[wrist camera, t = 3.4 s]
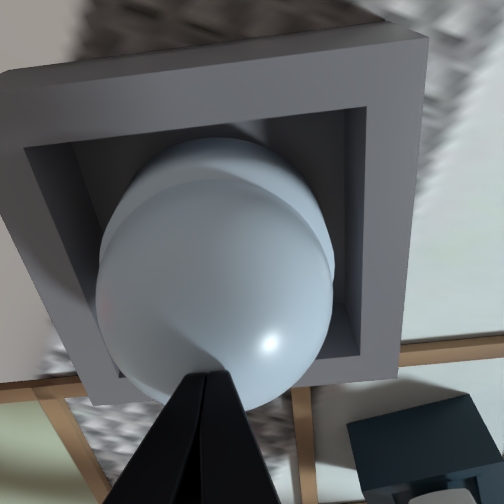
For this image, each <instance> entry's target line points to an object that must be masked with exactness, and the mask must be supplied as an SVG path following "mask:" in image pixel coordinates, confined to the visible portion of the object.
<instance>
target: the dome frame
mask: <svg viewBox="0 0 504 504" xmlns="http://www.w3.org/2000/svg"><path fill="white" fill-rule="evenodd" d="M428 47H429V37H427V36H424V35H422V34H420V33H417V32H415V31H412V30H410V29H407V28H405V27H402V26H400V25H397V24H395V23H392V22H390V21H382V22H374V23H367V24H359V25H351V26H344V27H336V28H328V29H320V30H313V31H305V32H297V33H290V34H282V35H274V36H267V37H259V38H251V39H244V40H236V41H228V42H220V43H213V44H205V45H197V46H190V47H182V48H174V49H167V50H159V51H151V52H144V53H136V54H128V55H120V56H113V57H105V58H97V59H90V60H82V61H74V62H67V63H59V64H51V65H43V66H36V67H28V68H20V69H13V70H7V71H5V72H3V73H1V74H0V215H1V217H2V219H3V221H4V223H5V225H6V227H7V229H8V231H9V233H10V235H11V237H12V239H13V242H14V243H15V246H16V248H17V250H18V252H19V254H20V256H21V258H22V260H23V262H24V264H25V266H26V268H27V270H28V272H29V274H30V277H31V278H32V281H33V283H34V285H35V287H36V289H37V291H38V293H39V295H40V297H41V299H42V301H43V303H44V305H45V308H46V310H47V312H48V314H49V316H50V318H51V320H52V322H53V324H54V326H55V328H56V330H57V332H58V334H59V336H60V338H61V340H62V343H63V345H64V347H65V349H66V351H67V353H68V355H69V357H70V359H71V361H72V363H73V365H74V367H75V369H76V371H77V373H78V376H79V378H80V380H81V382H82V384H83V386H84V388H85V390H86V392H87V394H88V396H89V398H90V400H91V402H92V404H93V406H98V405H109V404H120V403H131V402H142V401H153V400H154V399H152V398H150V397H149V396H147V395H146V394H144V393H143V392H142V391H140V390H139V389H138V388H137V387H136V386H135V385H134V384H133V383H132V382H131V381H130V380H129V379H128V378H127V377H126V376H125V375H124V374H123V373H122V372H121V371H120V369H119V368H118V366H117V365H116V363H115V362H114V360H113V359H112V357H111V355H110V353H109V351H108V349H107V347H106V345H105V343H104V340H103V337H102V334H101V331H100V327H99V324H98V318H97V311H96V284H97V277H98V272H99V267H100V266H99V258H100V247H101V242H102V238H103V235H104V233H105V230H106V227H107V225H108V223H109V221H110V219H111V217H112V215H113V213H114V211H115V210H116V208H117V206H118V204H119V202H120V200H121V198H122V196H123V194H124V192H125V190H126V188H127V187H128V185H129V183H130V181H131V180H132V178H133V177H134V176H135V175H136V173H137V172H138V171H139V170H140V168H142V167H143V166H144V165H145V164H146V163H147V162H148V161H149V160H150V159H152V158H153V157H155V156H156V155H158V154H159V153H161V152H162V151H164V150H167V149H169V148H171V147H173V146H175V145H178V144H181V143H184V142H187V141H191V140H196V139H202V138H215V137H221V138H234V139H239V140H244V141H249V142H252V143H255V144H258V145H261V146H263V147H265V148H267V149H269V150H271V151H273V152H275V153H277V154H279V155H280V156H282V157H283V158H284V159H286V160H287V161H289V162H290V163H291V164H292V165H293V166H294V167H295V168H297V169H298V170H299V172H300V173H301V174H302V175H303V176H304V177H305V179H306V180H307V181H308V183H309V185H310V186H311V188H312V189H313V191H314V193H315V196H316V198H317V200H318V202H319V206H320V209H321V212H322V215H323V218H324V221H325V225H326V228H327V231H328V234H329V237H330V241H331V244H332V248H333V252H334V262H335V268H334V279H333V283H332V286H333V303H332V315H331V319H330V323H329V327H328V331H327V335H326V337H325V340H324V342H323V345H322V347H321V349H320V351H319V353H318V355H317V356H316V358H315V360H314V361H313V363H312V364H311V366H310V367H309V368H308V369H307V371H306V372H305V373H304V374H303V375H302V377H301V378H300V379H299V380H298V381H297V382H296V383H295V384H294V385H293V386H291V387H290V388H296V387H307V386H318V385H329V384H340V383H351V382H362V381H373V380H384V379H395V378H397V374H398V364H399V353H400V343H401V332H402V322H403V311H404V301H405V290H406V279H407V269H408V258H409V248H410V237H411V227H412V216H413V206H414V195H415V185H416V174H417V163H418V153H419V142H420V132H421V121H422V111H423V100H424V90H425V79H426V69H427V58H428Z"/></svg>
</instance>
